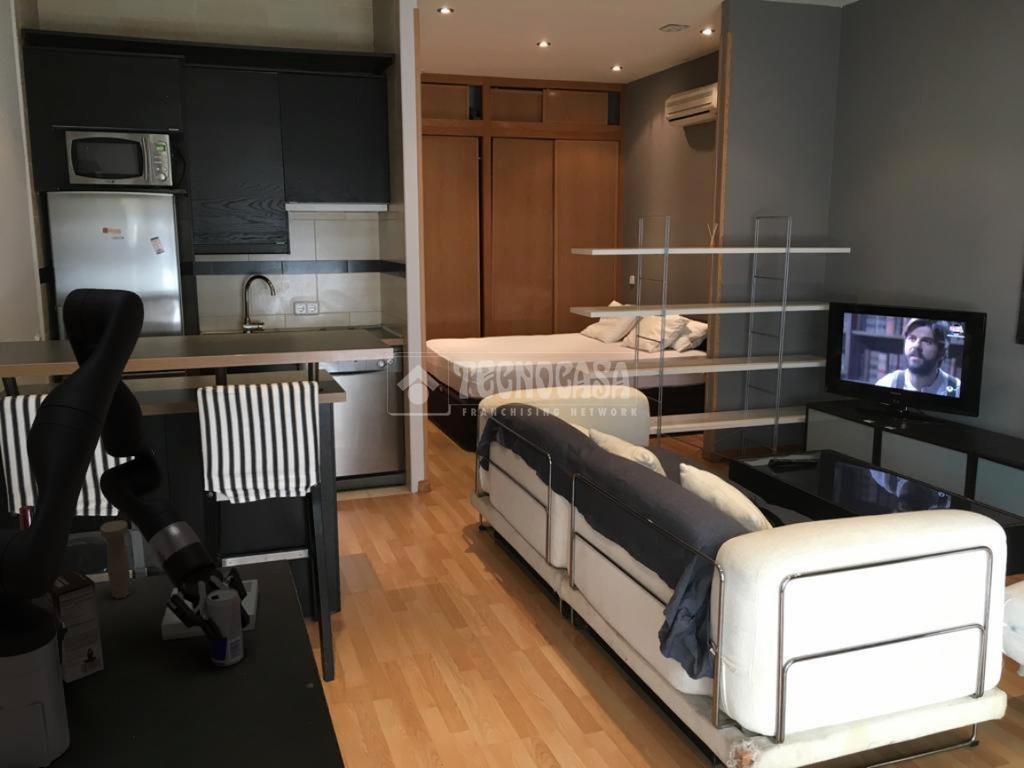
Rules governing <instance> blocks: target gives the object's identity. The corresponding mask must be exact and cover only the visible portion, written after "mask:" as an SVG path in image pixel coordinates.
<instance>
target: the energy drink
mask: <svg viewBox="0 0 1024 768" xmlns="http://www.w3.org/2000/svg"><path fill="white" fill-rule="evenodd" d="M206 603H207V610H208V613H209V619H212V620H213V621H214V623H215V624H216V626H217V628H218V629H219V631H220V632H221V634H222V638H221V640H220V641H219V642H217V643H213V641H210V640H209V647H210V659H211V660H210V661H211V663H212V664H214V665H215V666H218V667H228V666H233V665H235V664H238V663H240V662H241V660H242V659H243V658H244V656H245V653H244V642H243V641H244V639H243V631H242V625H241V612H240V599H239V595H238V592H237V590H235V589H230V588H225V589H219V590H215V591H213V592H211V593H210V594H208V596H207V602H206Z"/></svg>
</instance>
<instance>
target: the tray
mask: <svg viewBox="0 0 1024 768" xmlns="http://www.w3.org/2000/svg"><path fill="white" fill-rule="evenodd" d="M241 581H242V583H243V585H244V587H245V590H246V592H247V596H246V597H245V598H244V599H243V601H242V606H243V607H244V609H245V610H246V612H247V614H248V615H249V616H250V623H249V625H248V626H247V627H245V628H243V629H242V632H244V631H252V630H255V628H256V619H257V609H258V601H259V598H258V597H259V585H258V584H259V583H258V579H257V578H256V579H248V580H241ZM223 584H225V582H223ZM225 585H226V586H227V587H229V586H228V584H225ZM177 593H178V589H177V587H173V589H172V592H171V594H170V597H171V596H172V595H173V594H177ZM184 600H185V599H184ZM185 603H186V604H187V605H188V606H189V607H190V608H191V609H192V606H191V602H189V601H187V600H185ZM160 626H161V638H162V641H169V639H171V640H177V638H180V639H188V638H195V637H194V636H196V637H203V636H206V635H205V633H204V632H203V630H202V629H201V627H199V626H192V627H191V628H187V627H186V626H185V625H184V624H183V623H182V622H181V621H180V619H179V618H178V617H177V616H176V615H175V614H174V613H173V612H172V611H171V610H170V609H169V608H168V607H167V606H166V609H165V613H164V617H163V618H162V621H161V625H160ZM187 637H188V638H187Z"/></svg>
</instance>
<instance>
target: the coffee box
mask: <svg viewBox="0 0 1024 768" xmlns="http://www.w3.org/2000/svg"><path fill="white" fill-rule="evenodd" d="M96 591H97V590H96V581H94V580H92V579H91V578H90V577H89V576H87V575H86V574H85V573H83V572H82V571H81V570H79V569H78V568H77V567H76V566H73V567H72V568H68V569H65V570H62V571H61V570H60V572H59V575H58V577H57V580H56V581H55V583H54V585H53V586H52V588H51V589H50V591H49V592H47V595H48V598H49V601H50V604H51V607H52V609H53V610H54V612H55V613H56V615H57V618H58V620H59V622H60V623H64V624H65V625H64V626H66V627H67V628H66V629H67V630H68V631H67V632H66V634H64V635H65V636H64V638H63V639H64V640H63V641H62V663H61V673H62V681H64V682H65V683H67V684H69V683H71V682H75V681H77V680H79V679H82V678H84V677H87V676H90V675H92V674H94V673H97V671H98V672H99V671H102V670H104V669H105V668H104V659H103V650H102V649H103V648H102V647H103V646H102V641H101V630H100V619H99V611H98V610H99V609H98V602H97V601H98V599H97V592H96Z"/></svg>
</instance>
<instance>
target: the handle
mask: <svg viewBox="0 0 1024 768" xmlns="http://www.w3.org/2000/svg"><path fill="white" fill-rule="evenodd" d="M99 530H100V535H101V537H102V538H105V541H106V560H107V575H108V582H109V586H110V590H111V596H112V597H113V598H115V599H116V600H120V599H125V598H127V597H128V596H129V595H130V594H131V588H130V586H131V583H130V582H131V580H130V579H131V577H130V565H129V559H128V554H127V553H128V552H127V549H126V548H127V547H126V543H125V542H126V541H125V535H126V534H127V533H128V530H129V528H128V523H127V521H126V520H122V519H121V520H111V521H108V522H105V523H103V524H101V525H100V529H99ZM127 595H128V596H127ZM119 598H120V599H119Z"/></svg>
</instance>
